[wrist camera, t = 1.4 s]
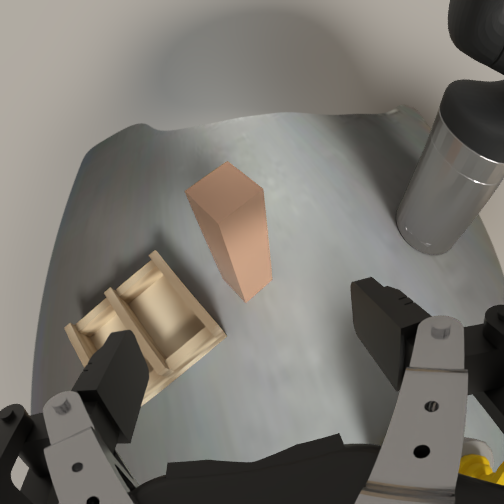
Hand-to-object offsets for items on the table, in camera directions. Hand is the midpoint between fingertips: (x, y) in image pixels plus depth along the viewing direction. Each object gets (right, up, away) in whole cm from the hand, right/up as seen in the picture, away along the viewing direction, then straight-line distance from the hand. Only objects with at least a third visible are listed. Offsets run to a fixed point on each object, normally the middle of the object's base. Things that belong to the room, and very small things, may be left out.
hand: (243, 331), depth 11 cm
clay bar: (0, 0, +25) cm, 25 cm away
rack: (-11, -7, +23) cm, 26 cm away
